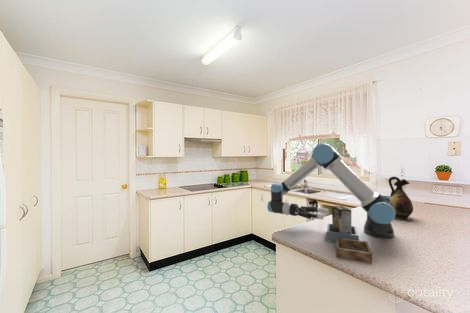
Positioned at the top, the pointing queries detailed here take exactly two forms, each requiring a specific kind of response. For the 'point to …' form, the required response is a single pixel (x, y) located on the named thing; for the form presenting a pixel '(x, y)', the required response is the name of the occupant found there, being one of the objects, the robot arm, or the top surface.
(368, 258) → the walnut caddy
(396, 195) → the ceramic jug
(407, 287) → the top surface
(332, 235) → the slate tray
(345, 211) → the coffee box
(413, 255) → the top surface
